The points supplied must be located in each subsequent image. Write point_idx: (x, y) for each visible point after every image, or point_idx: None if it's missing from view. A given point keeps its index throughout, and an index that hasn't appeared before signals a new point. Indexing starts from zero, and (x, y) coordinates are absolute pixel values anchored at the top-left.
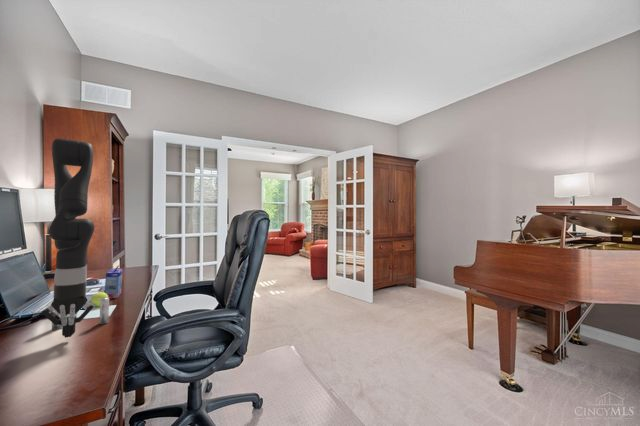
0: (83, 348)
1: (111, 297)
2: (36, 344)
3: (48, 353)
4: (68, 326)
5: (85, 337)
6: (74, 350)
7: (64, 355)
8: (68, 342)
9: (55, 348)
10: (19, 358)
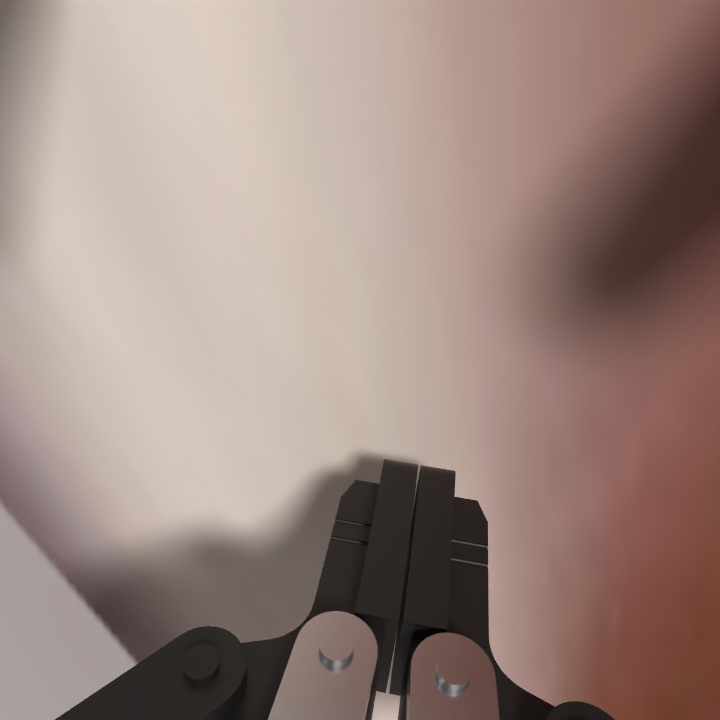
0: (573, 665)
1: None
2: (100, 360)
3: None
4: (397, 680)
5: (608, 436)
6: (503, 660)
7: None
8: None
9: None
10: (133, 581)
